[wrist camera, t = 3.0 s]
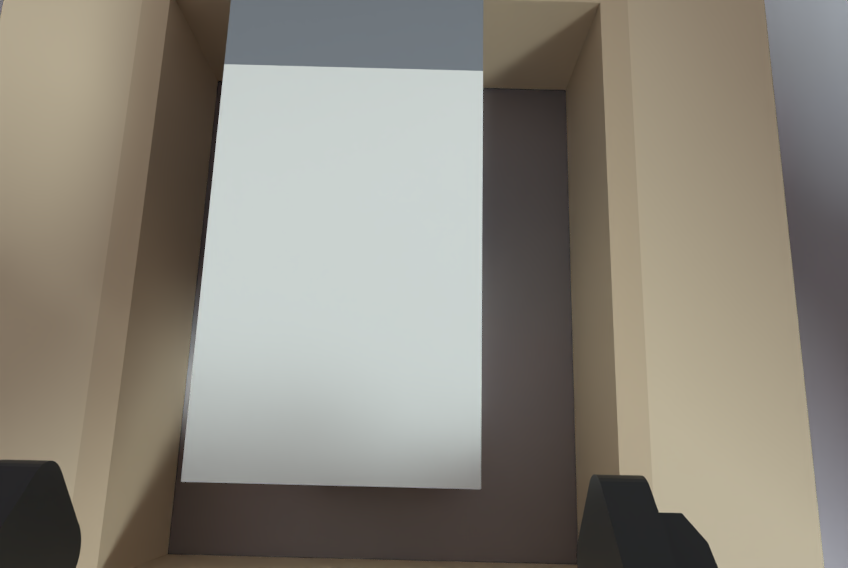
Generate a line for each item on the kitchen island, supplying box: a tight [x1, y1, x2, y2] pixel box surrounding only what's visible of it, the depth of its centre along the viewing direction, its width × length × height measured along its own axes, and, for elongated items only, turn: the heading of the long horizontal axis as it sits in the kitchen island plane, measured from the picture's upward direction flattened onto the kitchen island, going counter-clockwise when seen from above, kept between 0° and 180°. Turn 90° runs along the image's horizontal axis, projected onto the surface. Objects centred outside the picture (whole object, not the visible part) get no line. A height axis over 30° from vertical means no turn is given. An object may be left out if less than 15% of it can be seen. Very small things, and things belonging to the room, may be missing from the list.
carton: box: [0, 0, 824, 568], centre depth 21 cm, size 22×24×5 cm
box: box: [181, 0, 483, 489], centre depth 18 cm, size 4×11×12 cm, turn 179°
